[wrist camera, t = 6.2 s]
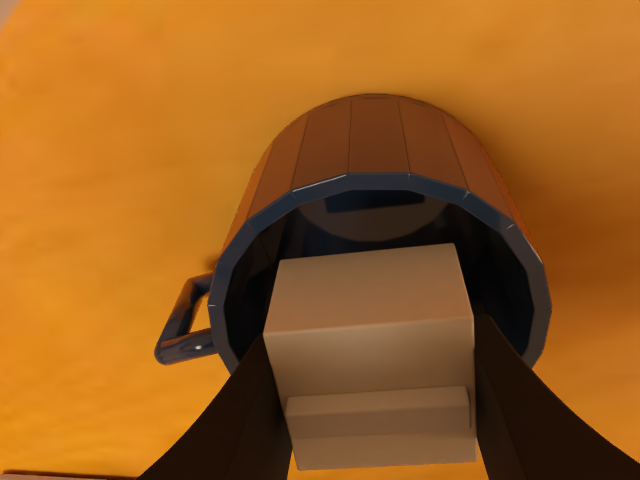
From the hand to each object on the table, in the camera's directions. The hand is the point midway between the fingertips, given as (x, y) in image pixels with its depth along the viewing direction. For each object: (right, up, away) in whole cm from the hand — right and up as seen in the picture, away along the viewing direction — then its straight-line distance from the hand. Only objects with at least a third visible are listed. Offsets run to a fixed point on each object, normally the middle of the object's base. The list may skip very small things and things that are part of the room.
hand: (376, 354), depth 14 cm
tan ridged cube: (0, +1, +1) cm, 1 cm away
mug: (-1, +3, +7) cm, 7 cm away
